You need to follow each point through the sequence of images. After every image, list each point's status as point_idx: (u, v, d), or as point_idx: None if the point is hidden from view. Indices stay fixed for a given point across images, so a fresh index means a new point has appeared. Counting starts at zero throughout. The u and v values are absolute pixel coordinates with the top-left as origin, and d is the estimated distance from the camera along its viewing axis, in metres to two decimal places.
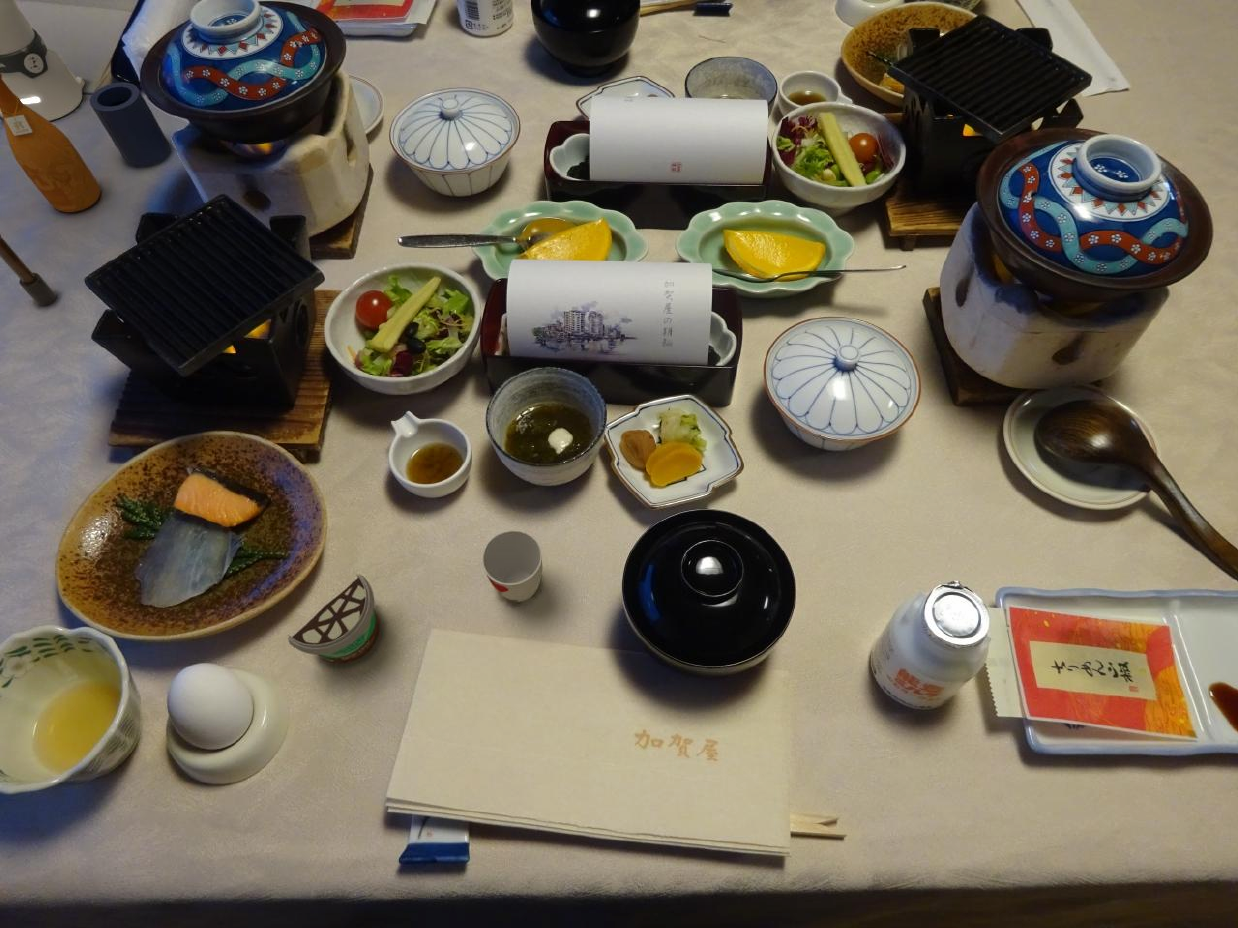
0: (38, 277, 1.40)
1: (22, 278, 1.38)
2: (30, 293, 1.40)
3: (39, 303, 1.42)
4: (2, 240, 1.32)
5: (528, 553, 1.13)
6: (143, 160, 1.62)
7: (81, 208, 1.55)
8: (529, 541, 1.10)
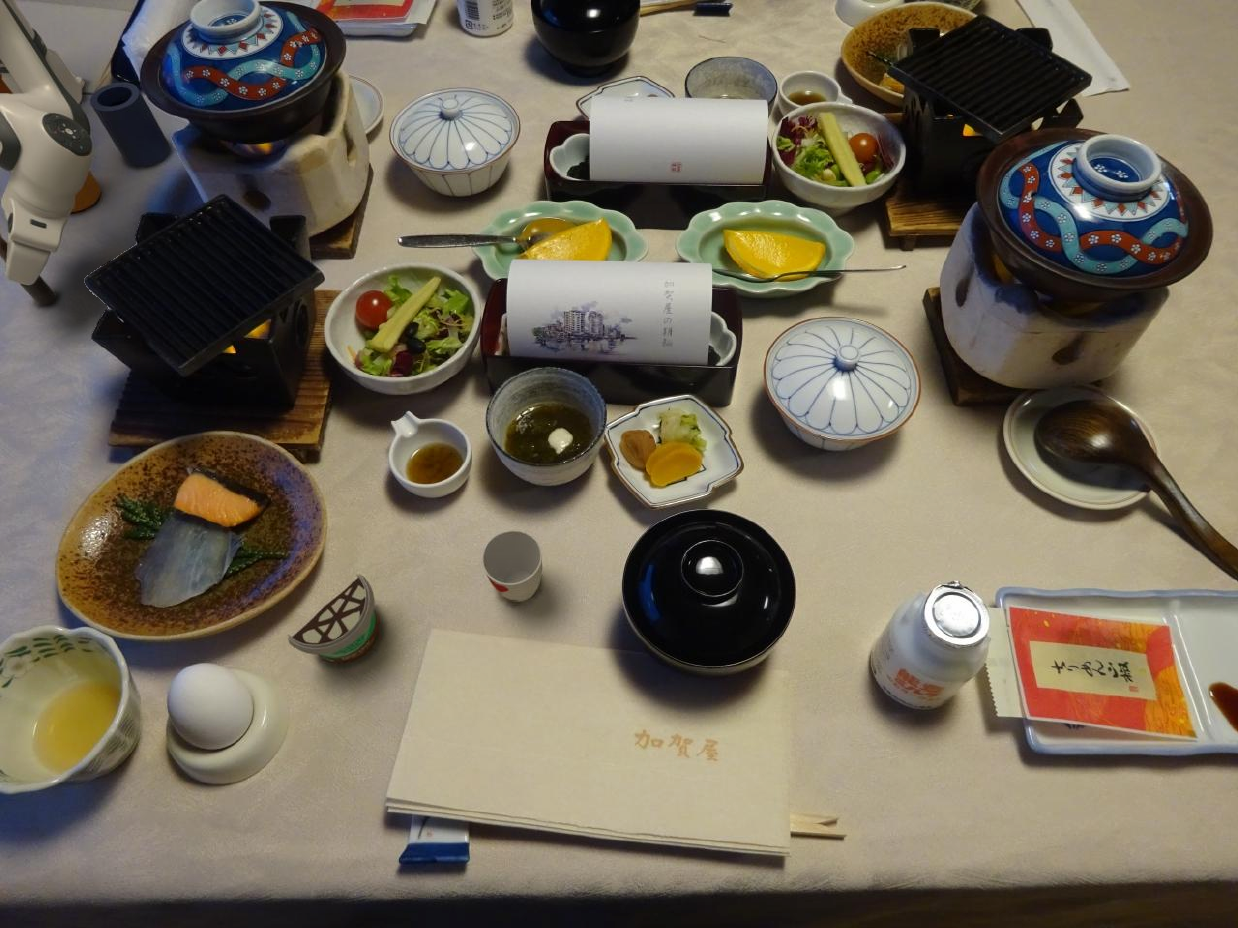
0: (38, 277, 1.40)
1: None
2: (30, 293, 1.40)
3: (39, 303, 1.42)
4: (2, 240, 1.32)
5: (528, 553, 1.13)
6: (143, 160, 1.62)
7: (81, 208, 1.55)
8: (529, 541, 1.10)
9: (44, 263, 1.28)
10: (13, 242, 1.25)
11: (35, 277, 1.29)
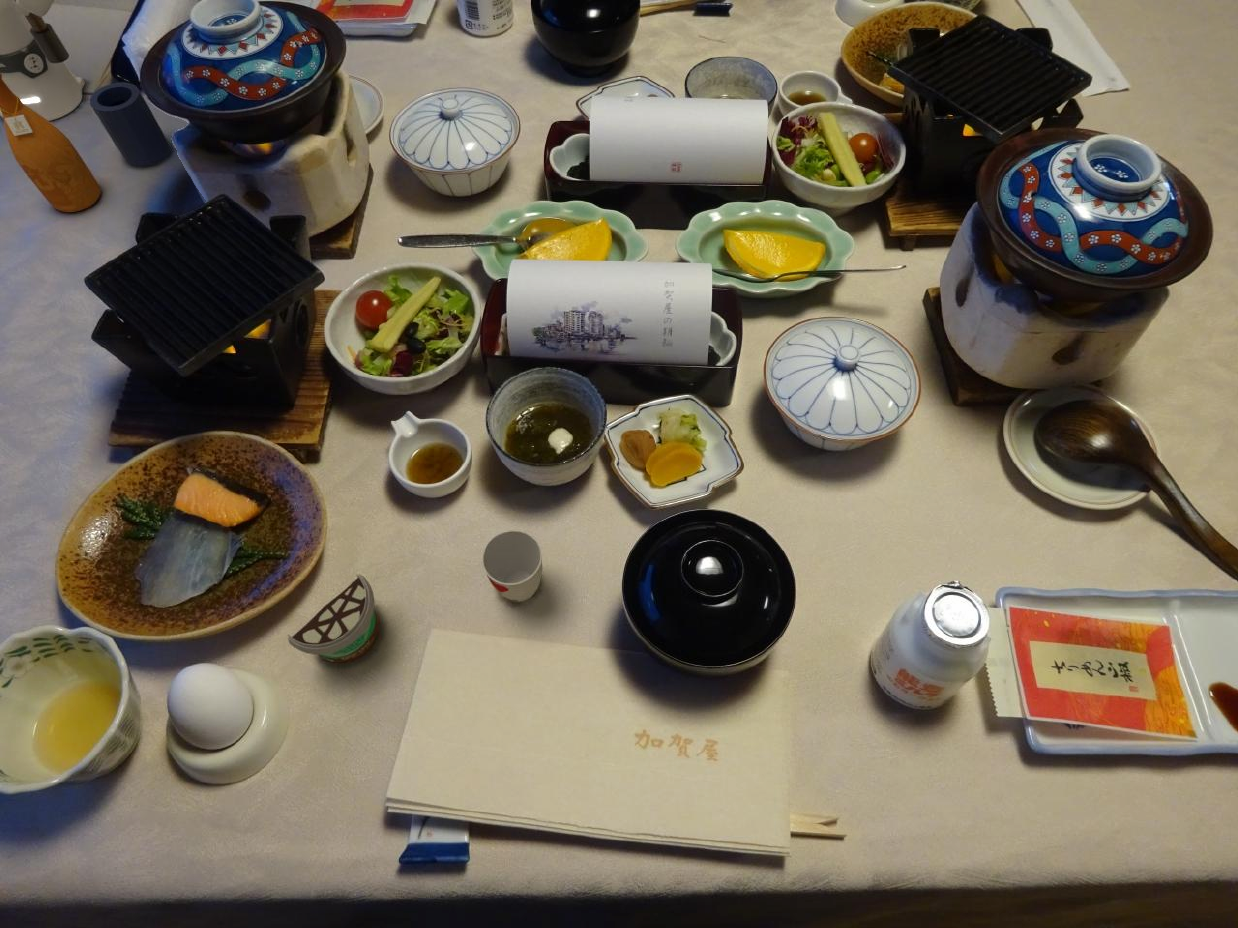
0: (50, 27, 1.31)
1: (33, 24, 1.29)
2: (41, 45, 1.31)
3: (51, 59, 1.34)
4: None
5: (528, 553, 1.13)
6: (143, 160, 1.62)
7: (81, 208, 1.55)
8: (529, 541, 1.10)
9: None
10: None
11: (48, 5, 1.20)
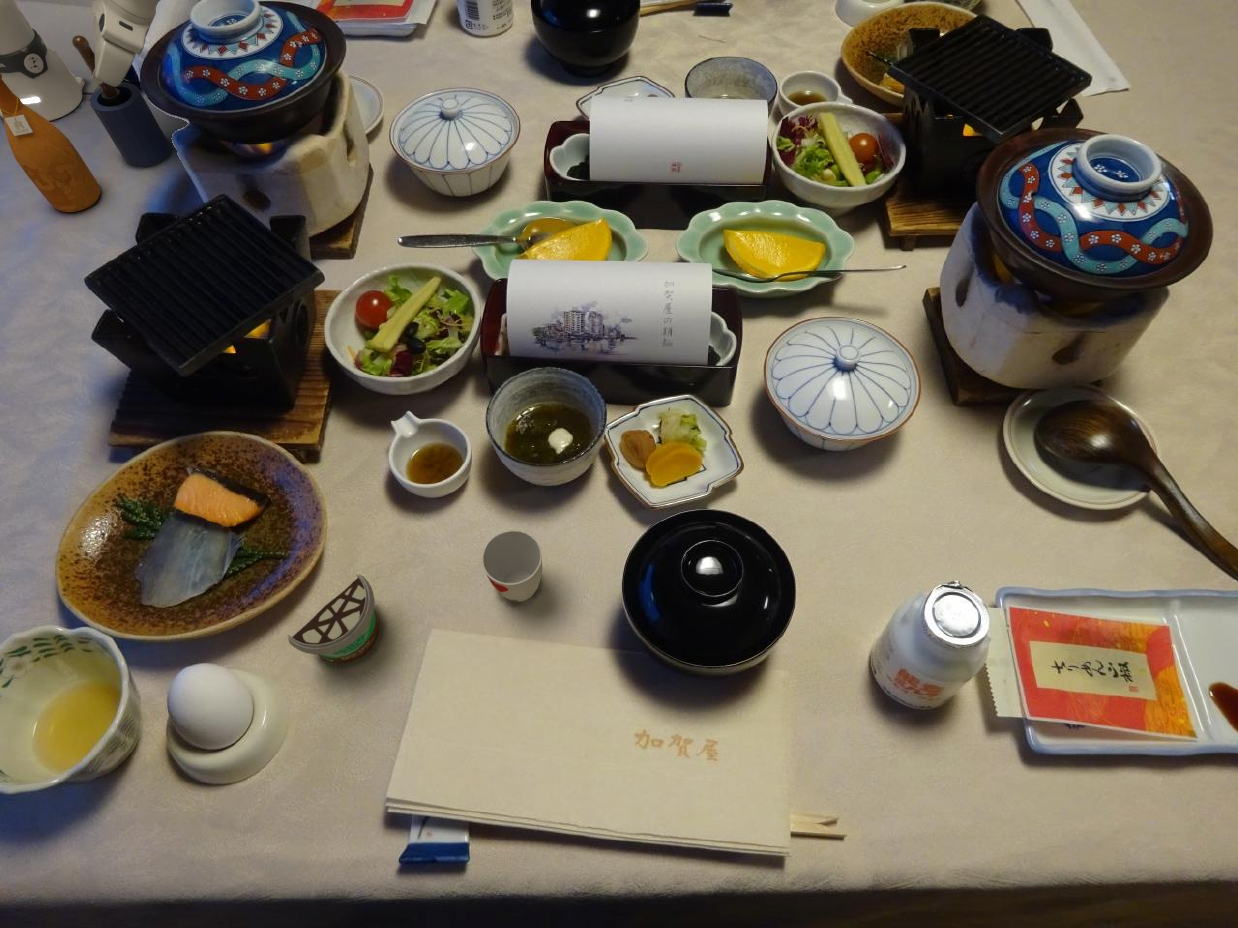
0: (118, 91, 1.54)
1: (105, 90, 1.52)
2: (111, 106, 1.54)
3: None
4: (90, 48, 1.46)
5: (528, 553, 1.13)
6: (143, 160, 1.62)
7: (81, 208, 1.55)
8: (529, 541, 1.10)
9: (130, 64, 1.42)
10: (104, 40, 1.39)
11: (121, 78, 1.43)
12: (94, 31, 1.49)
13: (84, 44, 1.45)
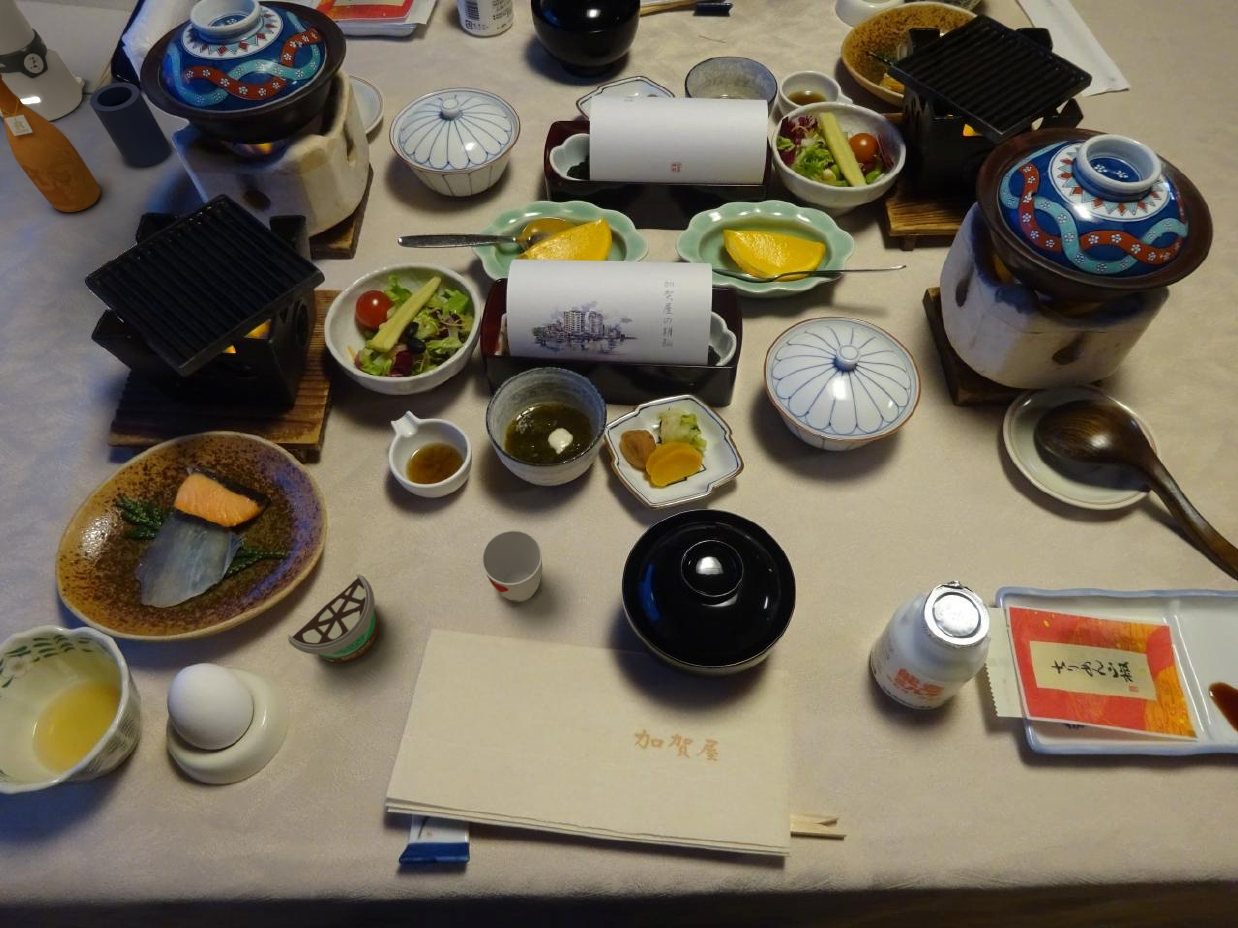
0: None
1: None
2: None
3: None
4: None
5: (528, 553, 1.13)
6: (143, 160, 1.62)
7: (81, 208, 1.55)
8: (529, 541, 1.10)
9: None
10: None
11: None
12: None
13: None
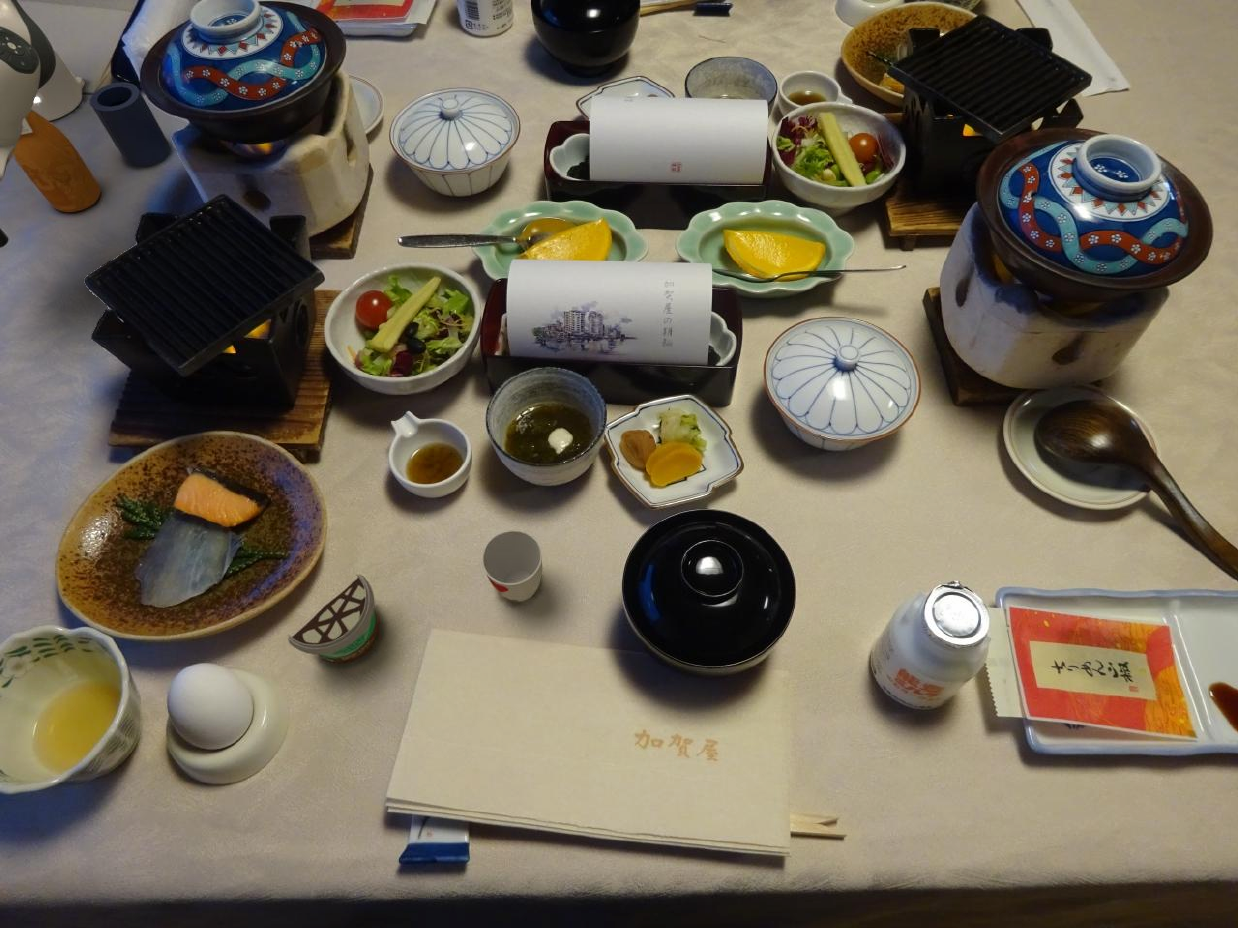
0: None
1: None
2: None
3: None
4: None
5: (528, 553, 1.13)
6: (143, 160, 1.62)
7: (81, 208, 1.55)
8: (529, 541, 1.10)
9: None
10: None
11: None
12: None
13: None
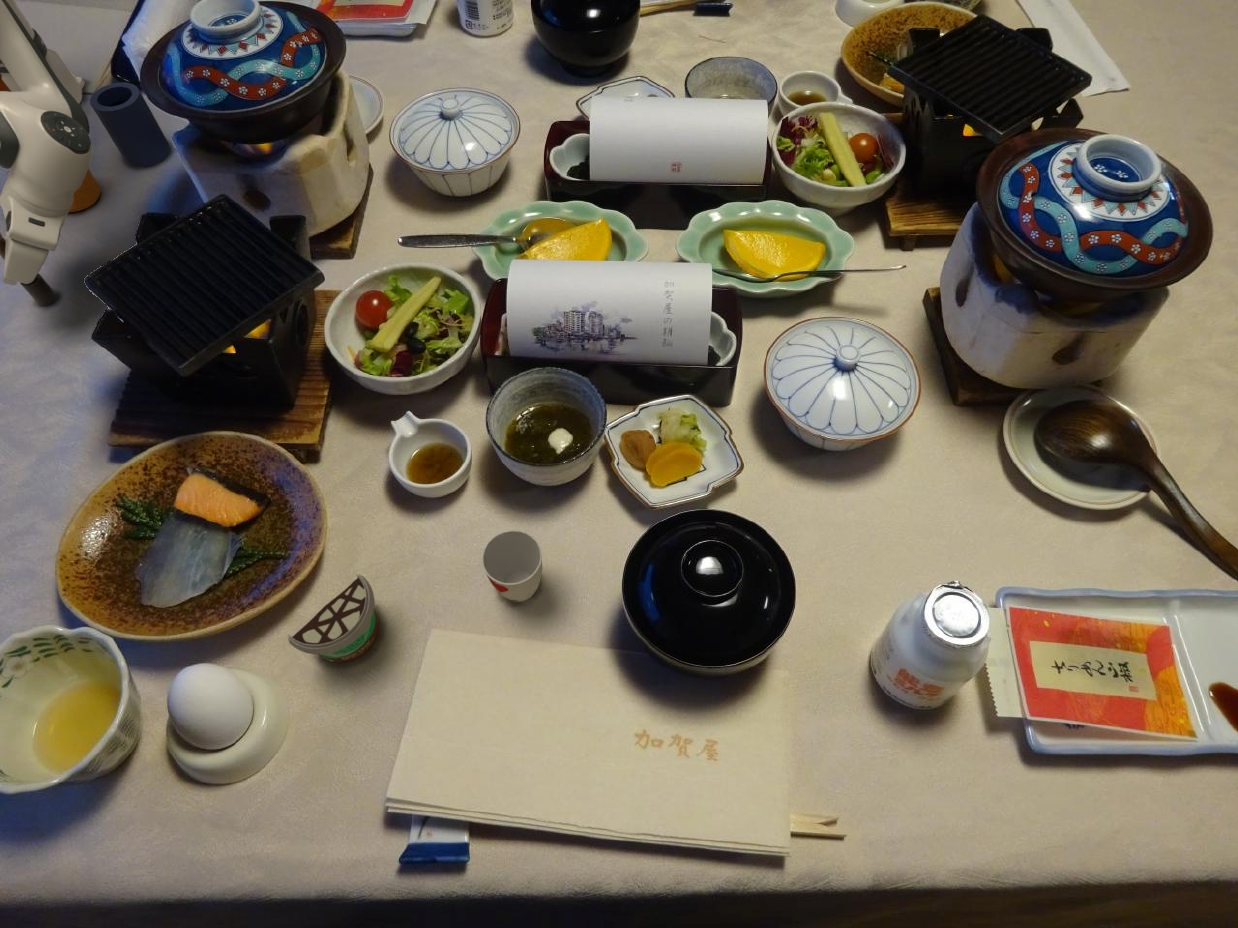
0: (39, 277, 1.40)
1: None
2: (31, 293, 1.40)
3: (40, 303, 1.42)
4: (3, 240, 1.32)
5: (528, 553, 1.13)
6: (143, 160, 1.62)
7: (81, 208, 1.55)
8: (529, 541, 1.10)
9: (42, 261, 1.28)
10: (11, 240, 1.24)
11: (33, 275, 1.29)
12: None
13: None
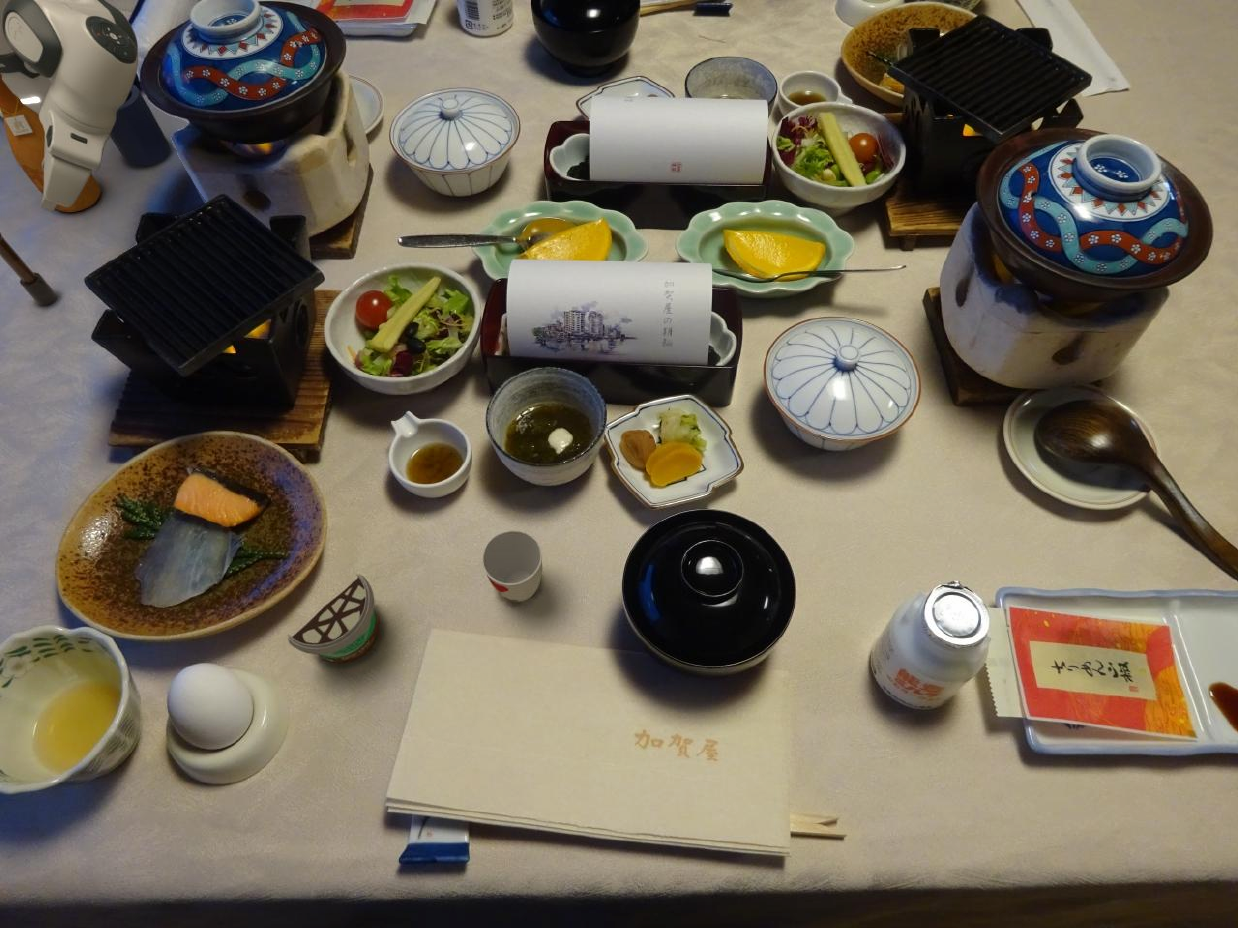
0: (39, 277, 1.40)
1: (23, 278, 1.38)
2: (31, 293, 1.40)
3: (40, 303, 1.42)
4: (3, 240, 1.32)
5: (528, 553, 1.13)
6: (143, 160, 1.62)
7: (81, 208, 1.55)
8: (529, 541, 1.10)
9: (84, 182, 1.20)
10: (52, 157, 1.16)
11: (75, 197, 1.21)
12: (45, 137, 1.26)
13: None
